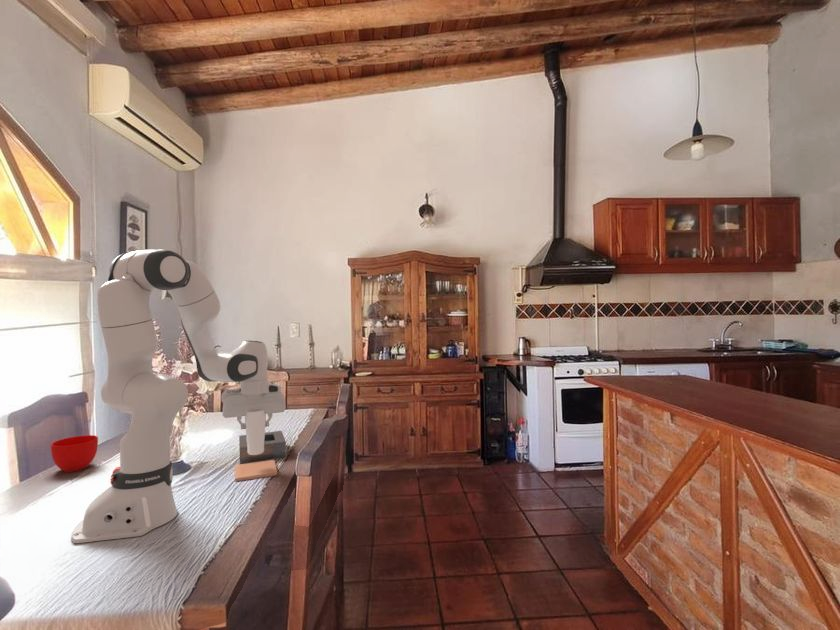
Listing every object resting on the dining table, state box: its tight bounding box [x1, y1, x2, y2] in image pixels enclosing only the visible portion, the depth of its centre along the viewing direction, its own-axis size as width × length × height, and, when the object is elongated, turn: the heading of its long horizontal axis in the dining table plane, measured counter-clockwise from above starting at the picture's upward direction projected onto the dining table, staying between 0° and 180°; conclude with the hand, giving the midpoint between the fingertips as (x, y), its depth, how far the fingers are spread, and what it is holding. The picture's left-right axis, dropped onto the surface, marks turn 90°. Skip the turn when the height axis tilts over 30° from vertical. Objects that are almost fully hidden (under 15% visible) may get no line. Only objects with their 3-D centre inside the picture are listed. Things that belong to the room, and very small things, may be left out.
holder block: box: [238, 430, 287, 465], centre depth 163 cm, size 16×16×6 cm
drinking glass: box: [244, 410, 267, 455], centre depth 145 cm, size 7×7×15 cm
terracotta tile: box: [234, 459, 278, 482], centre depth 145 cm, size 13×13×1 cm
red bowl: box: [50, 434, 99, 473], centre depth 152 cm, size 13×17×10 cm
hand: (255, 427), depth 145 cm, fingers closed on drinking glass, 6 cm apart
